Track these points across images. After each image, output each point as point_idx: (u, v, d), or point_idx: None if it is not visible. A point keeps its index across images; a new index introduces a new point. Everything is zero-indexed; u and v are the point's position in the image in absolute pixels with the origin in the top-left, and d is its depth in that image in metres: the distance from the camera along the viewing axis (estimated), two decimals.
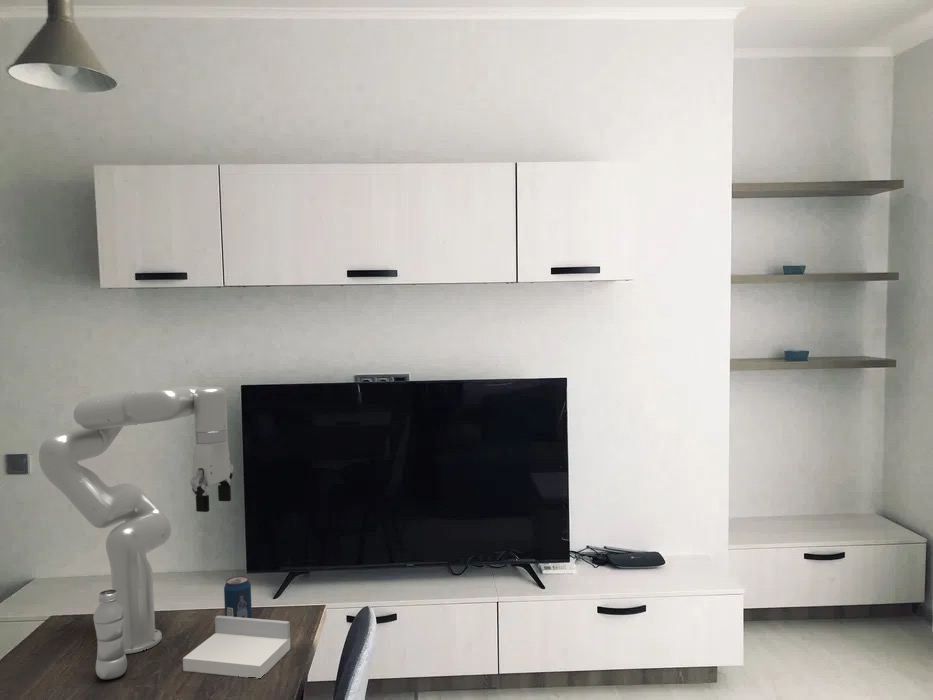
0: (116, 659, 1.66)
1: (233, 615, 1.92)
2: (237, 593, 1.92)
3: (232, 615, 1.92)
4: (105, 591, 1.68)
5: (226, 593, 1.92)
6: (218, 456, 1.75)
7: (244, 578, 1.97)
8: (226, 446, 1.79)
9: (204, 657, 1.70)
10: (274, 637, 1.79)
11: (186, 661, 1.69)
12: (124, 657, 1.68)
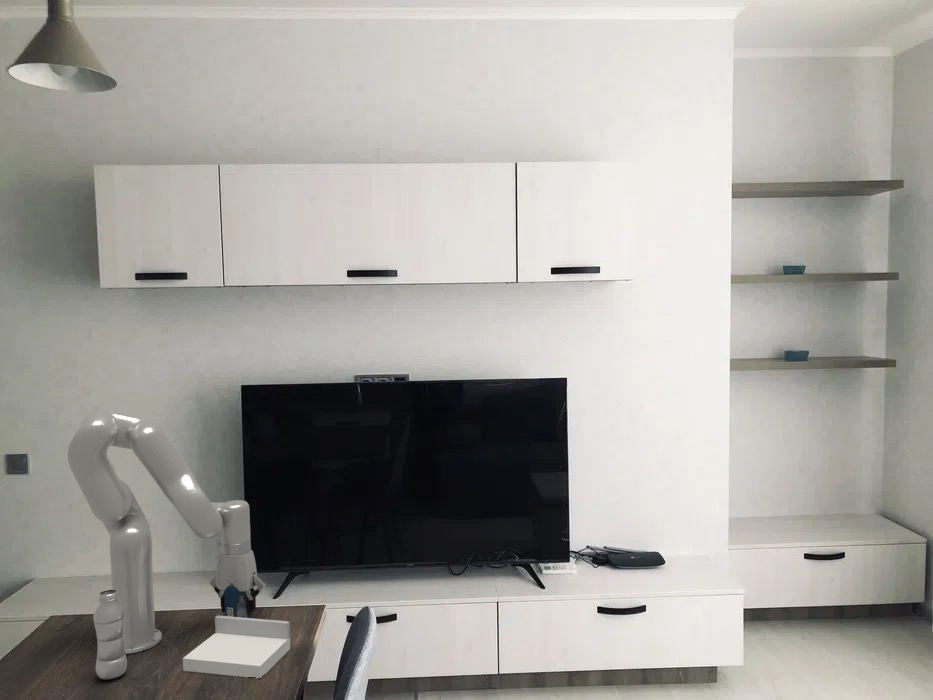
0: (116, 659, 1.66)
1: (233, 615, 1.92)
2: (237, 593, 1.92)
3: (232, 615, 1.92)
4: (105, 591, 1.68)
5: (226, 593, 1.92)
6: None
7: None
8: None
9: (204, 657, 1.70)
10: (274, 637, 1.79)
11: (186, 661, 1.69)
12: (124, 657, 1.68)
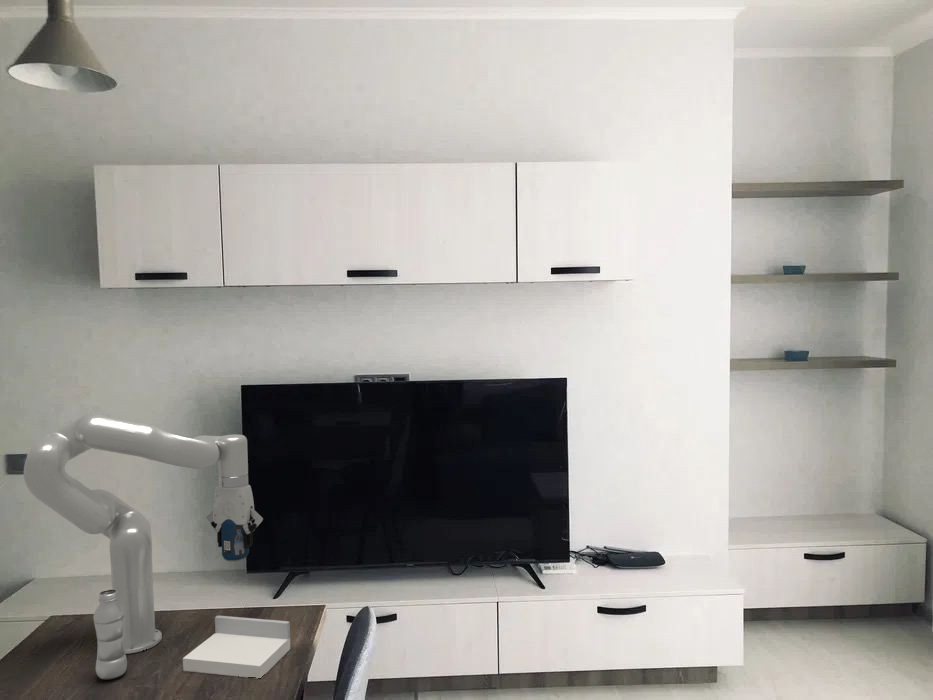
0: (116, 659, 1.66)
1: (230, 549, 1.91)
2: (234, 527, 1.90)
3: (229, 549, 1.91)
4: (105, 591, 1.68)
5: (223, 526, 1.91)
6: None
7: None
8: None
9: (204, 657, 1.70)
10: (274, 637, 1.79)
11: (186, 661, 1.69)
12: (124, 657, 1.68)
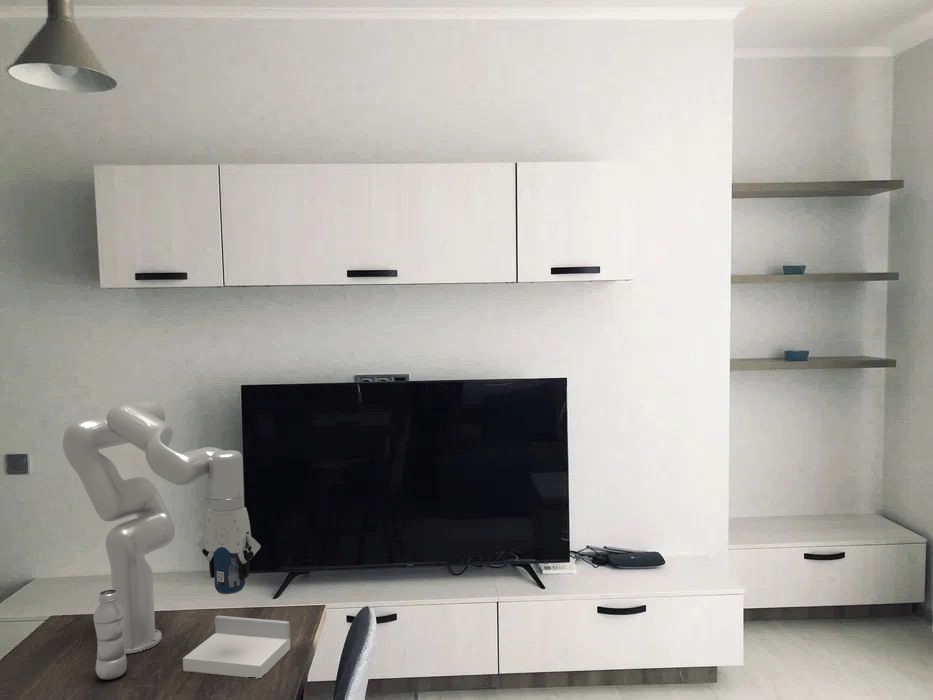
0: (116, 659, 1.66)
1: (224, 580, 1.68)
2: (228, 555, 1.68)
3: (223, 580, 1.68)
4: (105, 591, 1.68)
5: (216, 555, 1.68)
6: None
7: None
8: None
9: (204, 657, 1.70)
10: (274, 637, 1.79)
11: (186, 661, 1.69)
12: (124, 657, 1.68)
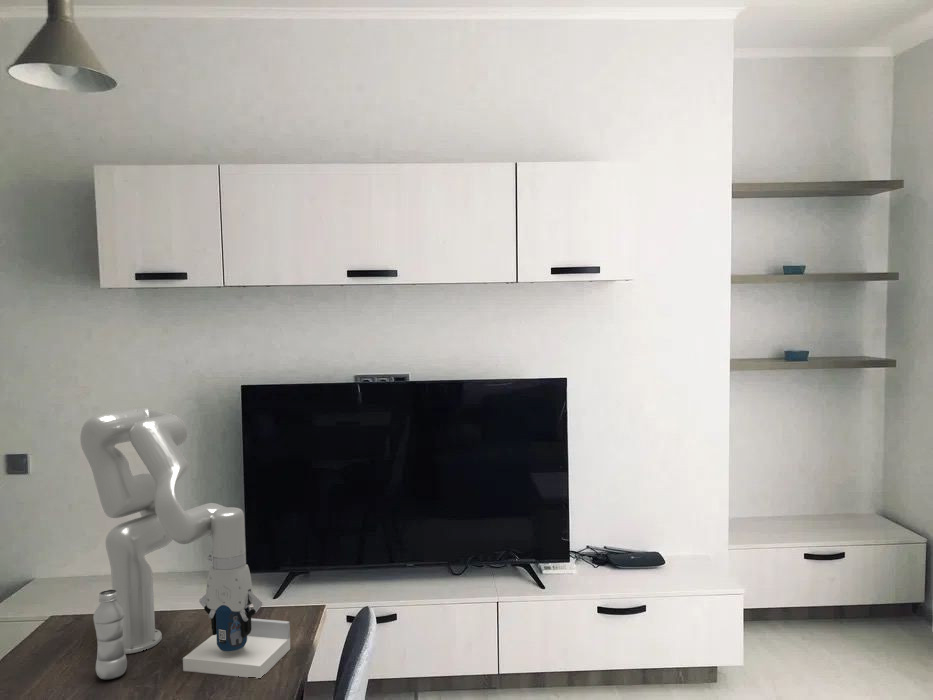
0: (116, 659, 1.66)
1: (226, 638, 1.69)
2: (230, 613, 1.68)
3: (225, 638, 1.69)
4: (105, 591, 1.68)
5: (218, 613, 1.69)
6: None
7: None
8: None
9: (204, 657, 1.70)
10: (274, 637, 1.79)
11: (186, 661, 1.69)
12: (124, 657, 1.68)
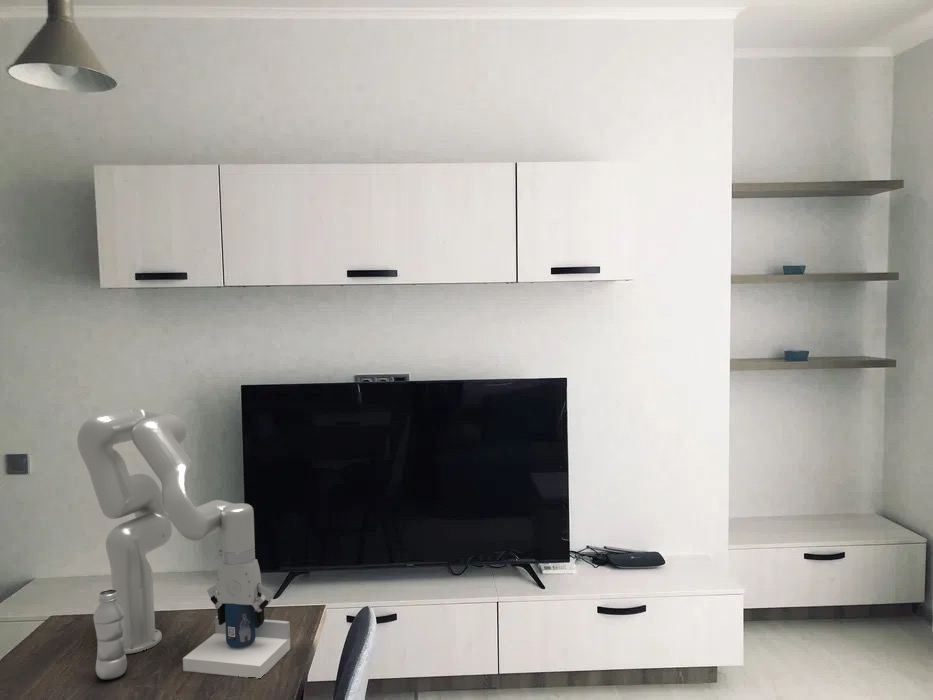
0: (116, 659, 1.66)
1: (235, 635, 1.73)
2: (239, 611, 1.73)
3: (234, 635, 1.73)
4: (105, 591, 1.68)
5: (227, 611, 1.73)
6: None
7: None
8: None
9: (204, 657, 1.70)
10: (274, 637, 1.79)
11: (186, 661, 1.69)
12: (124, 657, 1.68)
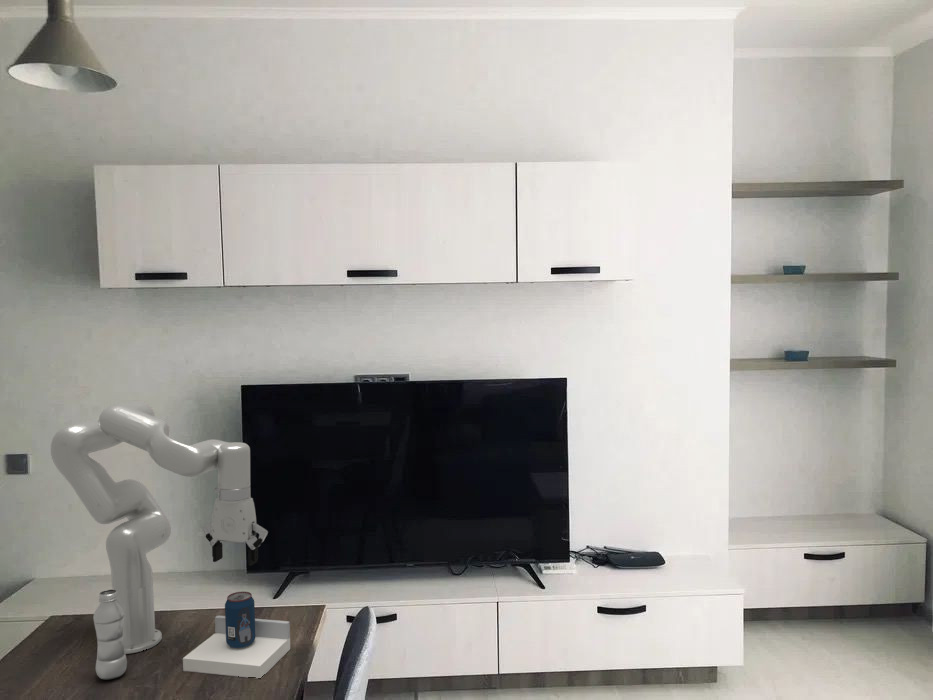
0: (116, 659, 1.66)
1: (235, 635, 1.73)
2: (239, 611, 1.73)
3: (234, 635, 1.73)
4: (105, 591, 1.68)
5: (227, 611, 1.73)
6: None
7: (247, 594, 1.78)
8: None
9: (204, 657, 1.70)
10: (274, 637, 1.79)
11: (186, 661, 1.69)
12: (124, 657, 1.68)
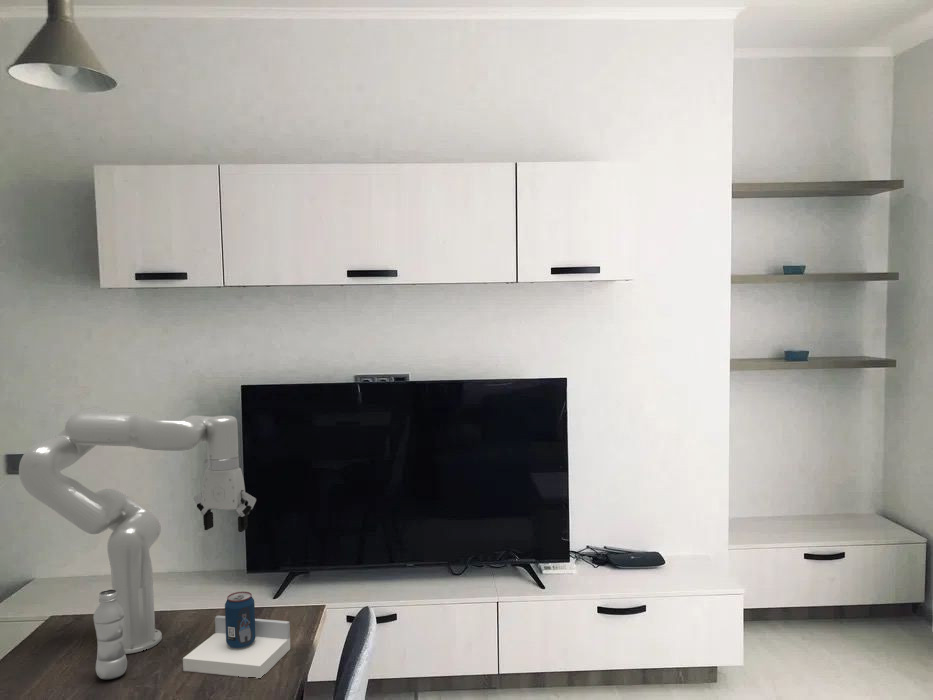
0: (116, 659, 1.66)
1: (235, 635, 1.73)
2: (239, 611, 1.73)
3: (234, 635, 1.73)
4: (105, 591, 1.68)
5: (227, 611, 1.73)
6: None
7: (247, 594, 1.78)
8: None
9: (204, 657, 1.70)
10: (274, 637, 1.79)
11: (186, 661, 1.69)
12: (124, 657, 1.68)
